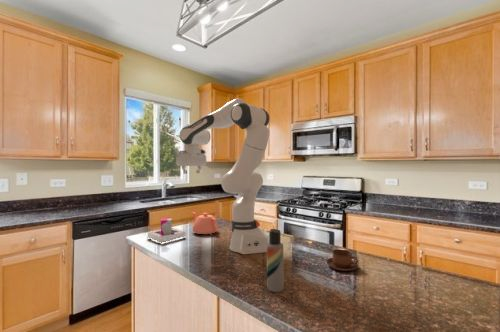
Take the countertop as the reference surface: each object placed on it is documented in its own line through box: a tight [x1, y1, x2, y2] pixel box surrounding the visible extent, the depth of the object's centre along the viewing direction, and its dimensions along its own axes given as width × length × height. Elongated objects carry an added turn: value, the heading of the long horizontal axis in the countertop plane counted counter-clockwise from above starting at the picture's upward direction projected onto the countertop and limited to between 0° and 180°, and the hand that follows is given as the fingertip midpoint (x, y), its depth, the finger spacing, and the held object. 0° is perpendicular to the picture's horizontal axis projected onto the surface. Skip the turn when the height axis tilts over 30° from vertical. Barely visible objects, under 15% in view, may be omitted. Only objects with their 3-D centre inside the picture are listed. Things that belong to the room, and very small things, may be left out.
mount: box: [147, 227, 187, 243], centre depth 147 cm, size 15×15×5 cm
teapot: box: [191, 211, 219, 235], centre depth 160 cm, size 22×16×12 cm
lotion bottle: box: [266, 228, 285, 293], centre depth 88 cm, size 6×6×20 cm
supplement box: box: [160, 217, 173, 235], centre depth 147 cm, size 6×6×12 cm
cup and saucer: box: [326, 249, 359, 272], centre depth 105 cm, size 12×12×6 cm
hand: (191, 173), depth 158 cm, fingers open, 8 cm apart
